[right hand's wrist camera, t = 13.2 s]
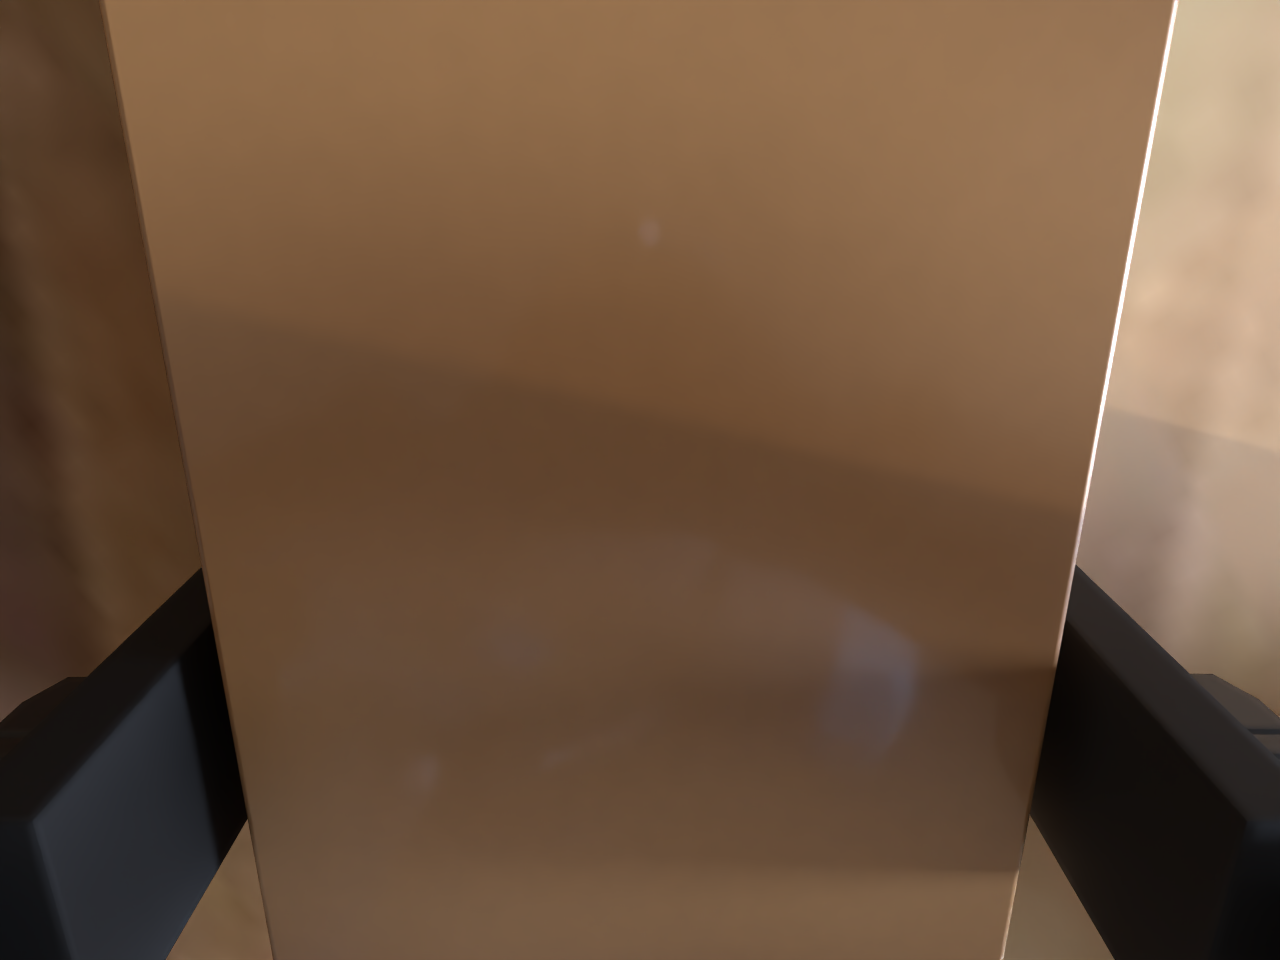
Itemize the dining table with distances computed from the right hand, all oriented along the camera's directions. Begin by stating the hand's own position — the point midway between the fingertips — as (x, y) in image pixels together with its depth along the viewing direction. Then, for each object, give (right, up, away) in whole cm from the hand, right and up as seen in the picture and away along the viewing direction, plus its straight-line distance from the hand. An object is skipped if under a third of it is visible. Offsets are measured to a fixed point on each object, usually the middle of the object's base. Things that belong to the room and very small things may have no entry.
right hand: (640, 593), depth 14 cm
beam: (0, +32, -9) cm, 34 cm away
